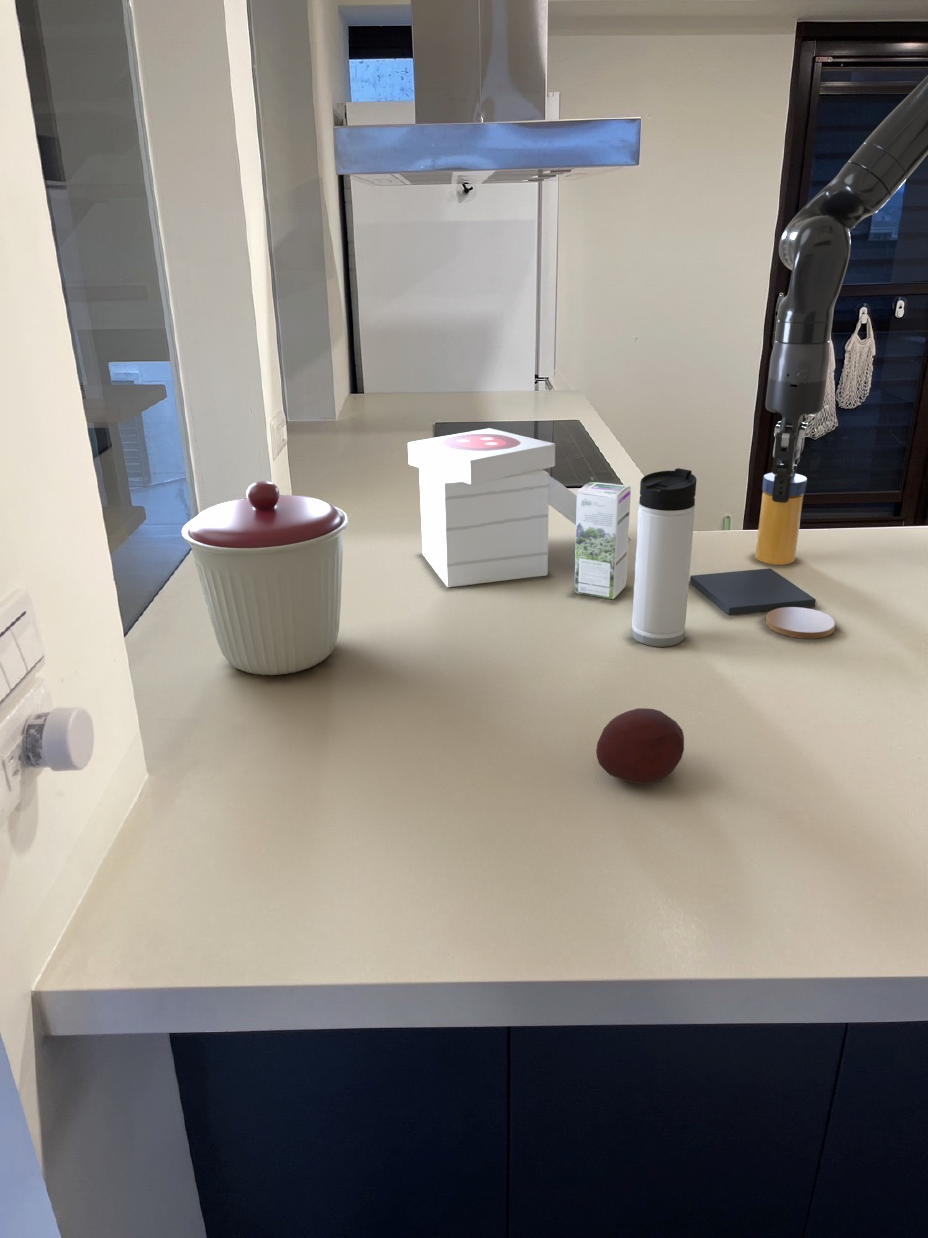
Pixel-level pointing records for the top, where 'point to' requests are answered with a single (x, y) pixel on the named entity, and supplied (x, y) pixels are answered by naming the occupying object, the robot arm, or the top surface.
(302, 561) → the canister
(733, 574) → the mat
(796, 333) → the robot arm
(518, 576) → the pizza boxes
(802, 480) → the jar lid
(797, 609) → the coaster
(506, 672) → the top surface
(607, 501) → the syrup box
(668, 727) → the potato
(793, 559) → the jar
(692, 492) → the travel mug
